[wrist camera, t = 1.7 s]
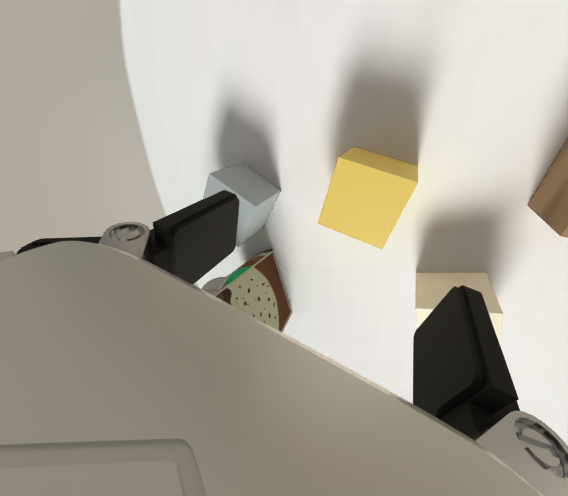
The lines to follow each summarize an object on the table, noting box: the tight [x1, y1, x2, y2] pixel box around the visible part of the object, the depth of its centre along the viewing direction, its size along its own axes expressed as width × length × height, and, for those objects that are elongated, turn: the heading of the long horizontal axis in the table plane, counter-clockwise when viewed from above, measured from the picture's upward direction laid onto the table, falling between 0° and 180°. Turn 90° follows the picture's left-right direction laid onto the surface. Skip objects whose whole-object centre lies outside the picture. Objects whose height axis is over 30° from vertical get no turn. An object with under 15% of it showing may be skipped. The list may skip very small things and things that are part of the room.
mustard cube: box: [318, 147, 418, 249], centre depth 18 cm, size 5×5×5 cm
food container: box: [202, 250, 292, 332], centre depth 28 cm, size 12×6×10 cm, turn 18°
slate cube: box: [203, 163, 281, 246], centre depth 24 cm, size 5×5×5 cm
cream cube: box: [415, 273, 503, 347], centre depth 20 cm, size 5×5×5 cm
